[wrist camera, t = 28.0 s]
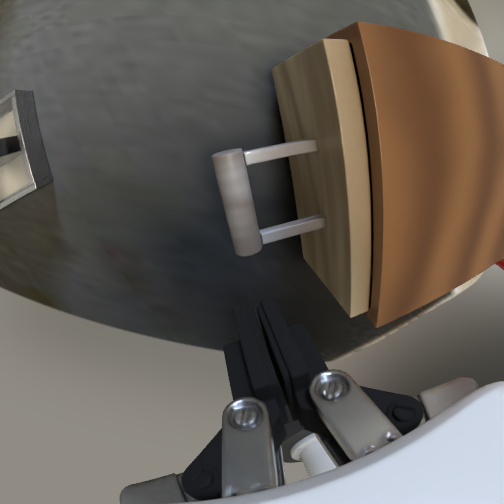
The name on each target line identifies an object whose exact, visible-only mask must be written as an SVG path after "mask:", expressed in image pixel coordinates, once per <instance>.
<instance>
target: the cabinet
mask: <svg viewBox="0 0 504 504" xmlns="http://www.w3.org/2000/svg"><path fill="white" fill-rule="evenodd" d="M324 39H345V40H348V41H349V45H350V50H351V54H352V58H353V63H354V62H356V65H357V69H358V74H359V80H360V85H361V91H362V96H363V103H364V109H365V116H366V123H367V131H368V140H369V150H370V161H371V174H372V191H373V225H374V243H373V277H371V276H370V295H369V309H368V311H367V312H364V314H365V315H366V316H367V318H368V319H369V320H370V321H371V322H372V324H373V325H374V326H375V327H376V328H378V327H380V326H382V325H384V324H387V323H389V322H391V321H393V320H395V319H397V318H399V317H402V316H404V315H406V314H408V313H410V312H412V311H414V310H416V309H418V308H420V307H422V306H424V305H426V304H427V303H429V302H431V301H433V300H435V299H437V298H439V297H440V296H442V295H444V294H446V293H448V292H449V291H451V290H453V289H455V288H456V287H458V286H460V285H462V284H463V283H465V282H467V281H468V280H470V279H471V278H473V277H475V276H476V275H478V274H479V273H481V272H483V271H484V270H486V269H487V268H489V267H490V266H492V265H493V264H495V263H496V262H498V261H499V260H501V259H502V258H504V65H503V64H501V63H499V62H497V61H495V60H493V59H490V58H488V57H486V56H484V55H482V54H479V53H477V52H474V51H472V50H469V49H467V48H464V47H461V46H459V45H456V44H453V43H450V42H447V41H444V40H441V39H438V38H434V37H431V36H427V35H424V34H420V33H416V32H412V31H408V30H403V29H399V28H394V27H389V26H383V25H377V24H371V23H364V22H356V23H353V24H351V25H349V26H348V27H345V28H343V29H341V30H339V31H337V32H335V33H333V34H332V35H330V36H328V37H326V38H324Z"/></svg>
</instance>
